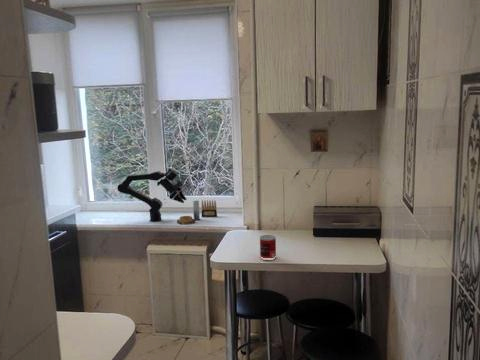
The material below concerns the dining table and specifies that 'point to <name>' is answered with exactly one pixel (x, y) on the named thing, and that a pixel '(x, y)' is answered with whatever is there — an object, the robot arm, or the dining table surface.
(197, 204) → the drive pin
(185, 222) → the sprocket
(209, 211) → the ammunition clip
